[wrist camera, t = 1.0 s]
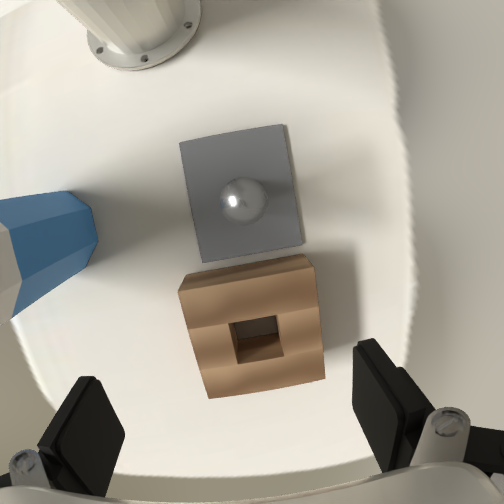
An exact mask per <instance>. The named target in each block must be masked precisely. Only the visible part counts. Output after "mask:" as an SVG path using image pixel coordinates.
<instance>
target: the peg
mask: <svg viewBox="0 0 504 504" xmlns="http://www.w3.org/2000/svg"><path fill="white" fill-rule="evenodd" d="M219 205H220V209H221V211H222V213H223V215H224V216H225V217H226V219H228V220H229V221H230V222H232V223H234V224H237V225H250V224H253V223H255V222H257V221H258V220H260V219H261V218H262V217H263V215H264V214H265V212H266V210H267V206H268V196H267V193H266V191H265V189H264V187H263V186H262V185H261V184H260V183H259V182H258V181H256V180H254V179H252V178H248V177H239V178H236V179H233V180H231V181H230V182H228V183H227V184H226V185H225V186H224V188H223V189H222V191H221V194H220V198H219Z"/></svg>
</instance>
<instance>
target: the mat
mask: <svg viewBox="0 0 504 504" xmlns="http://www.w3.org/2000/svg"><path fill="white" fill-rule="evenodd" d="M179 145H180V151H181V157H182V162H183V168H184V173H185V179H186V184H187V189H188V195H189V200H190V205H191V210H192V215H193V220H194V225H195V230H196V235H197V239H198V244H199V249H200V254H201V258H202V263H206V262H211V261H217V260H222V259H228V258H233V257H239V256H244V255H250V254H255V253H261V252H267V251H272V250H278V249H283V248H289V247H294V246H300V245H302V239H301V233H300V226H299V219H298V213H297V206H296V200H295V194H294V188H293V182H292V176H291V170H290V164H289V158H288V152H287V147H286V141H285V136H284V130H283V125H282V124H280V125H272V126H266V127H259V128H253V129H247V130H241V131H235V132H229V133H224V134H219V135H213V136H208V137H203V138H198V139H194V140H189V141H184V142H180V143H179ZM239 177H248V178H252V179H254V180H256V181H258V182H259V183H260V184H261V185H262V186H263V187H264V189H265V191H266V193H267V196H268V206H267V210H266V212H265V214H264V215H263V217H262V218H261V219H260V220H258V221H257V222H255V223H253V224H250V225H237V224H234V223H232V222H230V221H229V220H228V219H226V217H225V216H224V215H223V213H222V211H221V209H220V205H219V198H220V194H221V191H222V189H223V188H224V186H225V185H226V184H227V183H228V182H230V181H231V180H233V179H236V178H239Z"/></svg>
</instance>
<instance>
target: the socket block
mask: <svg viewBox="0 0 504 504" xmlns="http://www.w3.org/2000/svg"><path fill="white" fill-rule="evenodd" d="M178 295H179V299H180V303H181V307H182V311H183V314H184V318H185V322H186V325H187V329H188V332H189V336H190V339H191V343H192V346H193V350H194V353H195V357H196V360H197V363H198V367H199V370H200V373H201V376H202V379H203V383H204V386H205V389H206V392H207V395H208V398H209V399H212V398H221V397H228V396H236V395H242V394H249V393H255V392H262V391H267V390H273V389H279V388H284V387H289V386H294V385H299V384H304V383H309V382H313V381H318V380H322V379H325V367H324V355H323V344H322V334H321V324H320V314H319V305H318V296H317V287H316V279H315V271H314V266H313V265H312V264H311V263H310V262H309V260H308V259H307V258H306V257H305V256H304V254H299V255H294V256H288V257H283V258H277V259H272V260H266V261H261V262H255V263H250V264H244V265H239V266H233V267H228V268H222V269H216V270H211V271H205V272H199V273H194V274H188V275H186V276H185V278H184V280H183V282H182V284H181V286H180V288H179V290H178ZM273 315H276V321H277V327H278V333H275V334H270V335H264V336H259V337H253V338H247V339H241V340H237V336H236V331H235V327H234V322H239V321H245V320H251V319H256V318H262V317H268V316H273Z"/></svg>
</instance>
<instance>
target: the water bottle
mask: <svg viewBox="0 0 504 504" xmlns="http://www.w3.org/2000/svg"><path fill="white" fill-rule="evenodd" d="M97 242H98V238H97V233H96V229H95V225H94V221H93V216H92V212H91V208H90V207H89V206H87V205H86V204H85V203H83V202H82V201H80V200H79V199H78V198H76V197H75V196H74V195H72V194H71V193H69V192H68V191H59V192H51V193H43V194H36V195H29V196H22V197H15V198H9V199H3V200H0V326H2V325H3V324H4V323H6V322H7V321H8V320H10V319H11V318H13V317H14V316H15V315H17V314H18V313H19V312H21V311H22V310H24V309H25V308H26V307H28V306H29V305H31V304H32V303H34V302H35V301H36V300H38V299H39V298H41V297H42V296H44V295H45V294H46V293H48V292H49V291H51V290H52V289H54V288H55V287H57V286H58V285H60V284H61V283H63V282H64V281H66V280H67V279H69V278H70V277H72V276H73V275H75V274H76V273H78V272H79V271H81V270H82V269H84V268H85V267H86V265H87V263H88V261H89V259H90V256H91V254H92V252H93V250H94V248H95V246H96V244H97Z"/></svg>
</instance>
